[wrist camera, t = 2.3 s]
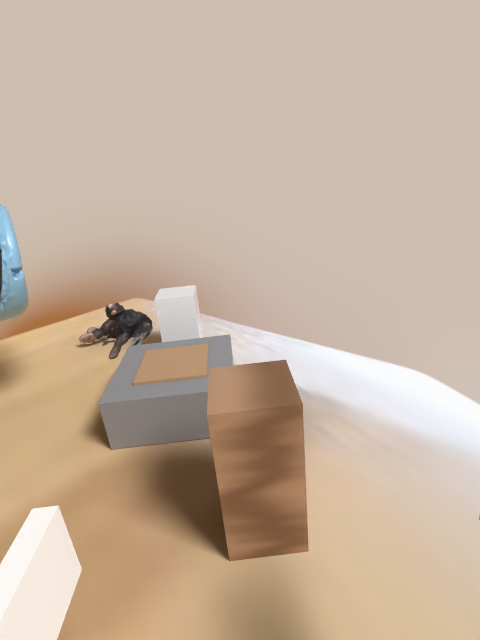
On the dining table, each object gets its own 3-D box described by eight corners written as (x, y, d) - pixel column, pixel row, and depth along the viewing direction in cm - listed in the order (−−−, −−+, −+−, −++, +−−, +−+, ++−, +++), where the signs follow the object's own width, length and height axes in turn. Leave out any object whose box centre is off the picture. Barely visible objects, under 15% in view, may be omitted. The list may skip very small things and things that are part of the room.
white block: (166, 363, 49) (154, 300, 46) (170, 347, 54) (159, 289, 50) (202, 358, 49) (193, 295, 46) (204, 343, 54) (195, 285, 51)
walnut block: (229, 561, 23) (206, 415, 19) (227, 496, 27) (209, 368, 23) (308, 551, 23) (302, 403, 19) (293, 488, 28) (285, 359, 24)
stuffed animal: (131, 312, 68) (149, 285, 58) (152, 359, 67) (174, 340, 57) (66, 331, 61) (74, 304, 51) (88, 384, 60) (101, 367, 50)
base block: (111, 449, 34) (97, 401, 32) (137, 382, 45) (128, 343, 43) (239, 434, 34) (233, 385, 32) (234, 371, 45) (229, 332, 43)
